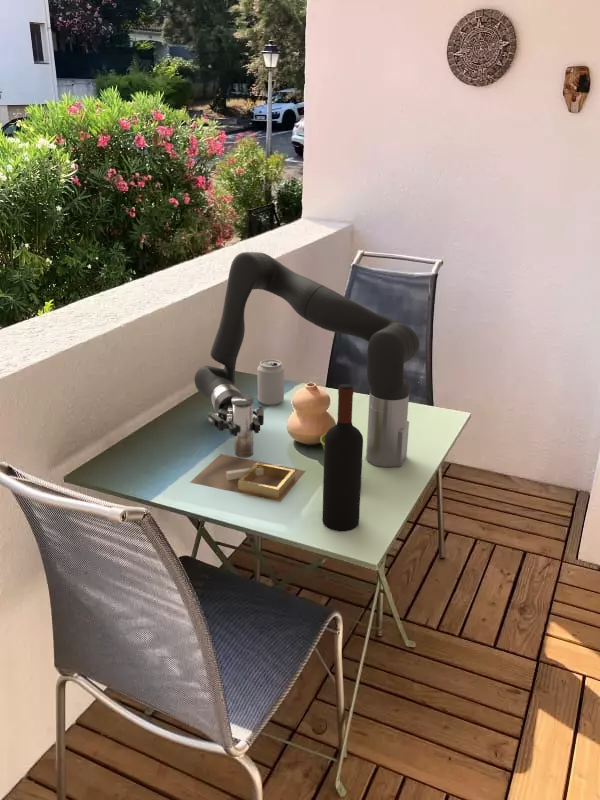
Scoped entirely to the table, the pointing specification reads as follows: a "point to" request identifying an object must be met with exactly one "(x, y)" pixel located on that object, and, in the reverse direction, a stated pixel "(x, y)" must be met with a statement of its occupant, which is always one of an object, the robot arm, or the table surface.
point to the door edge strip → (241, 472)
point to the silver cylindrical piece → (243, 425)
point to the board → (217, 478)
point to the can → (270, 382)
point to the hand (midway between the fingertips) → (246, 430)
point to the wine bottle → (342, 468)
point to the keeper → (267, 490)
